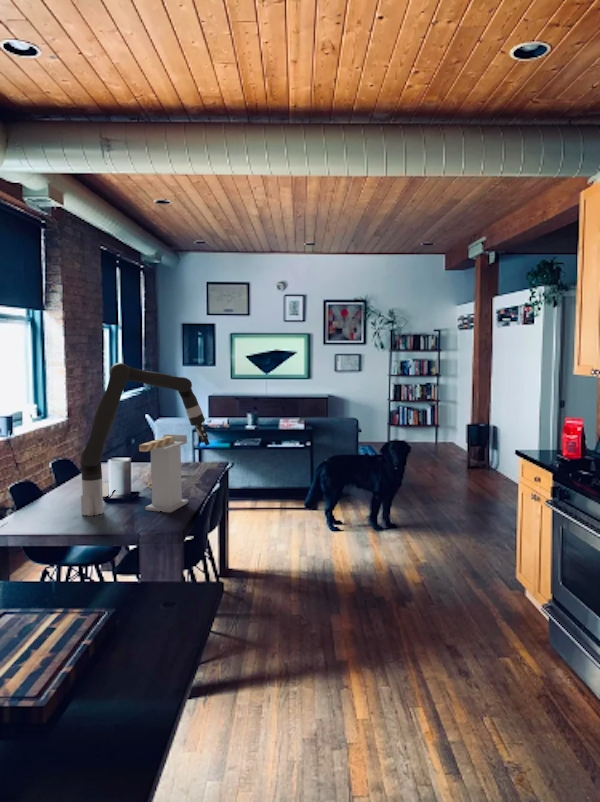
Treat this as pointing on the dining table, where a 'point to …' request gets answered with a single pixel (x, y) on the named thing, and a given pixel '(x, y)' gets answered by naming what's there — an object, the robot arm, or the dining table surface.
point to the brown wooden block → (156, 443)
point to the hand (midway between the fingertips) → (205, 443)
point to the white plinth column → (167, 476)
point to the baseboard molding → (105, 489)
